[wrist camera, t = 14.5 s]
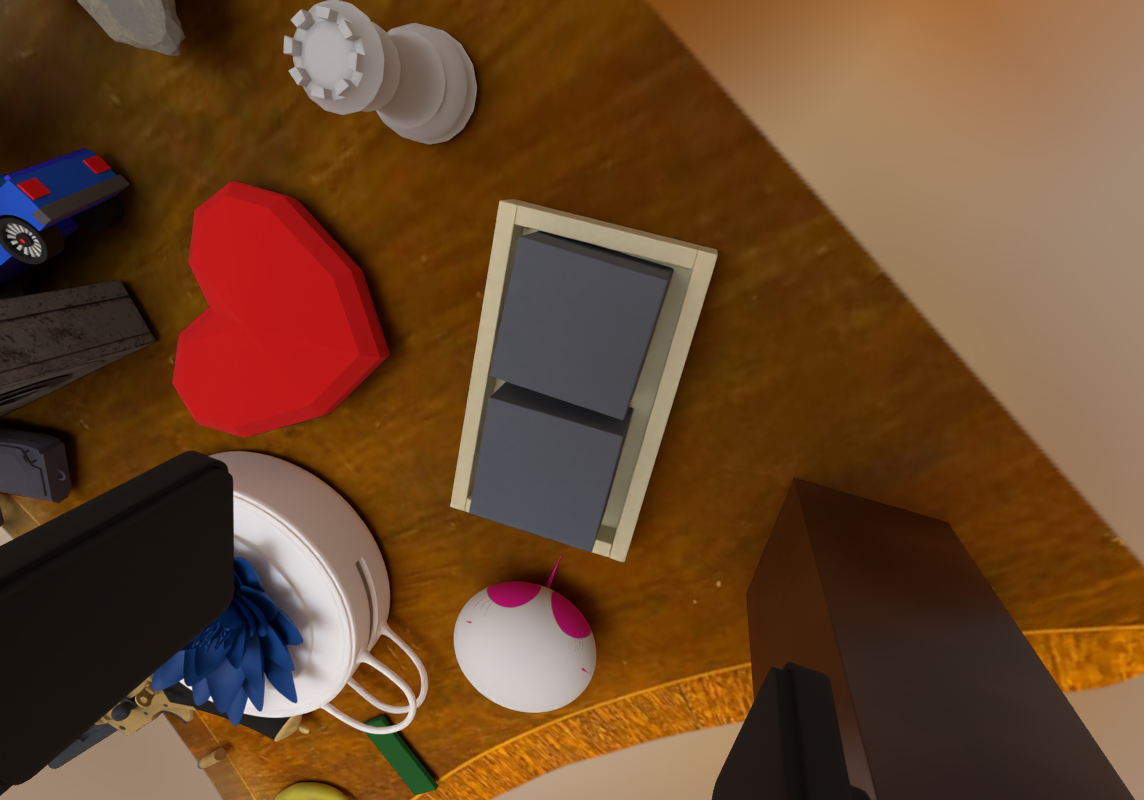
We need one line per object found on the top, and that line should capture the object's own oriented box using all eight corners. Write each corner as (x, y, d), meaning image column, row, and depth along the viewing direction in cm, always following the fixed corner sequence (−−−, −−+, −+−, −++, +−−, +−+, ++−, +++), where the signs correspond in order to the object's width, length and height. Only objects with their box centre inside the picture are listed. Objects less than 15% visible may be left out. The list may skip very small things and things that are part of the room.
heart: (428, 235, 30) (235, 178, 30) (398, 230, 26) (174, 164, 26) (379, 456, 33) (203, 403, 33) (344, 483, 28) (142, 423, 29)
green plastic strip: (386, 711, 40) (366, 718, 41) (380, 719, 39) (360, 726, 40) (440, 780, 41) (419, 786, 42) (436, 789, 40) (415, 795, 41)
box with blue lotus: (22, 627, 34) (303, 848, 35) (113, 445, 27) (451, 722, 29) (132, 556, 40) (366, 745, 41) (226, 395, 34) (499, 624, 35)
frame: (717, 249, 26) (717, 254, 24) (629, 541, 31) (624, 563, 30) (513, 198, 27) (499, 200, 25) (464, 489, 32) (449, 507, 31)
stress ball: (618, 575, 36) (634, 586, 30) (568, 710, 34) (572, 754, 28) (501, 526, 36) (491, 526, 30) (446, 657, 35) (422, 689, 28)
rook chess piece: (367, 56, 26) (231, 8, 19) (456, 9, 25) (346, -63, 17) (410, 161, 27) (296, 154, 20) (497, 121, 26) (409, 97, 18)
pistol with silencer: (156, 793, 52) (46, 720, 49) (335, 700, 42) (211, 602, 39) (116, 849, 48) (-6, 774, 45) (302, 760, 38) (162, 657, 35)
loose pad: (674, 268, 26) (668, 281, 23) (634, 393, 28) (623, 421, 25) (542, 228, 26) (518, 235, 23) (513, 354, 29) (488, 376, 26)
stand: (948, 522, 27) (1303, 1046, 11) (885, 639, 30) (1092, 1202, 13) (794, 477, 28) (903, 897, 12) (745, 594, 31) (779, 1071, 14)
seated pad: (634, 407, 28) (623, 437, 25) (604, 514, 31) (591, 553, 27) (513, 373, 29) (488, 397, 26) (493, 479, 31) (468, 513, 28)
